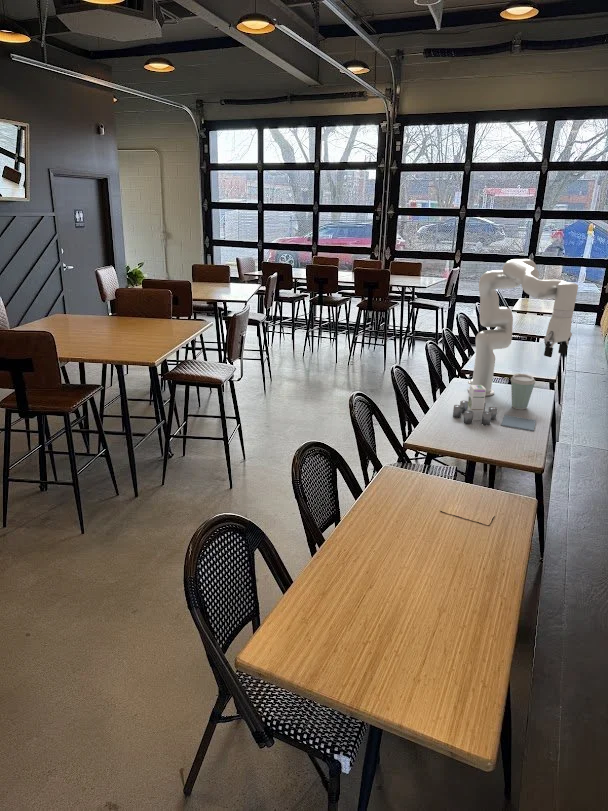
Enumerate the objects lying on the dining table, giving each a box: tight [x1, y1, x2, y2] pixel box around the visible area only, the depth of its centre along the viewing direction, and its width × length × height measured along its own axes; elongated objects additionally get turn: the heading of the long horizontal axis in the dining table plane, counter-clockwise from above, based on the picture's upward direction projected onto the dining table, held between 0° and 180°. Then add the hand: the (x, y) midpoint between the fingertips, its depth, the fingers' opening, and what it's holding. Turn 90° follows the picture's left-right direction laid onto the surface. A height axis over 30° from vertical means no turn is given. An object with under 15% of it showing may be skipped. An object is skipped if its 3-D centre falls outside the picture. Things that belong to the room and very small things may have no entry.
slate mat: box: [500, 414, 537, 432], centre depth 234 cm, size 13×13×1 cm
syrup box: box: [467, 384, 486, 421], centre depth 237 cm, size 6×6×14 cm
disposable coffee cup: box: [510, 373, 536, 410], centre depth 251 cm, size 11×11×15 cm
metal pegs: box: [452, 400, 499, 426], centre depth 239 cm, size 19×17×5 cm
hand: (554, 354), depth 225 cm, fingers open, 9 cm apart
